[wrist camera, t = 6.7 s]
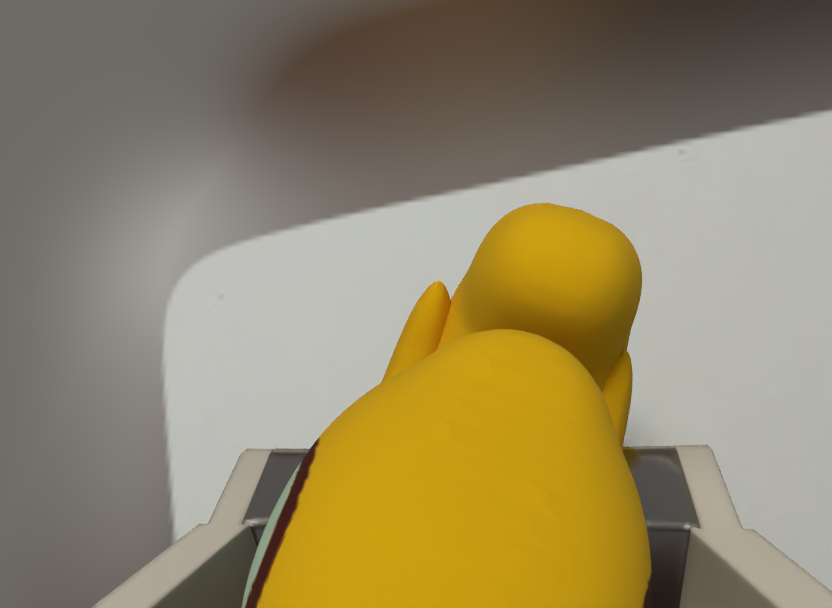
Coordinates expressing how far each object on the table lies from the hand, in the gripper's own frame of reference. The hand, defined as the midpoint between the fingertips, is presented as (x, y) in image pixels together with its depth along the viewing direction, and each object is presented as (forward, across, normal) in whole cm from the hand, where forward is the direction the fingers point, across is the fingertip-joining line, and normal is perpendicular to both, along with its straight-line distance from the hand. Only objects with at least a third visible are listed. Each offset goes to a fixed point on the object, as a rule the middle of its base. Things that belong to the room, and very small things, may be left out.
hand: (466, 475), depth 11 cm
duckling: (+3, 0, +4) cm, 5 cm away
